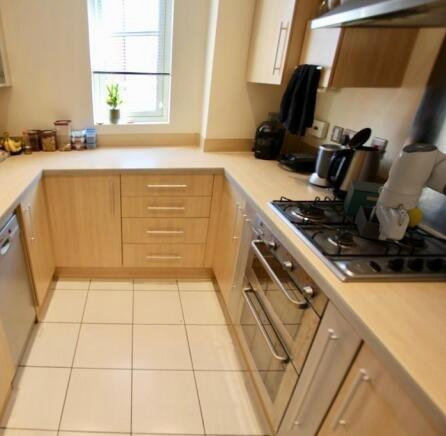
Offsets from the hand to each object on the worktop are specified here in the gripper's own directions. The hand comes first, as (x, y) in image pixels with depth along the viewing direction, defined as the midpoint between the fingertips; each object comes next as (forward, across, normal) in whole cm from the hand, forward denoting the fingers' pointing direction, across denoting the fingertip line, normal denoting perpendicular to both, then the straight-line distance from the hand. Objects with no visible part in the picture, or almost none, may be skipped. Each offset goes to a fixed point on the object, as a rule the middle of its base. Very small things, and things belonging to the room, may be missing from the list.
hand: (381, 237), depth 101 cm
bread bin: (+4, +28, 0) cm, 28 cm away
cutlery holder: (+4, +10, 0) cm, 10 cm away
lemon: (+4, +20, -12) cm, 24 cm away
